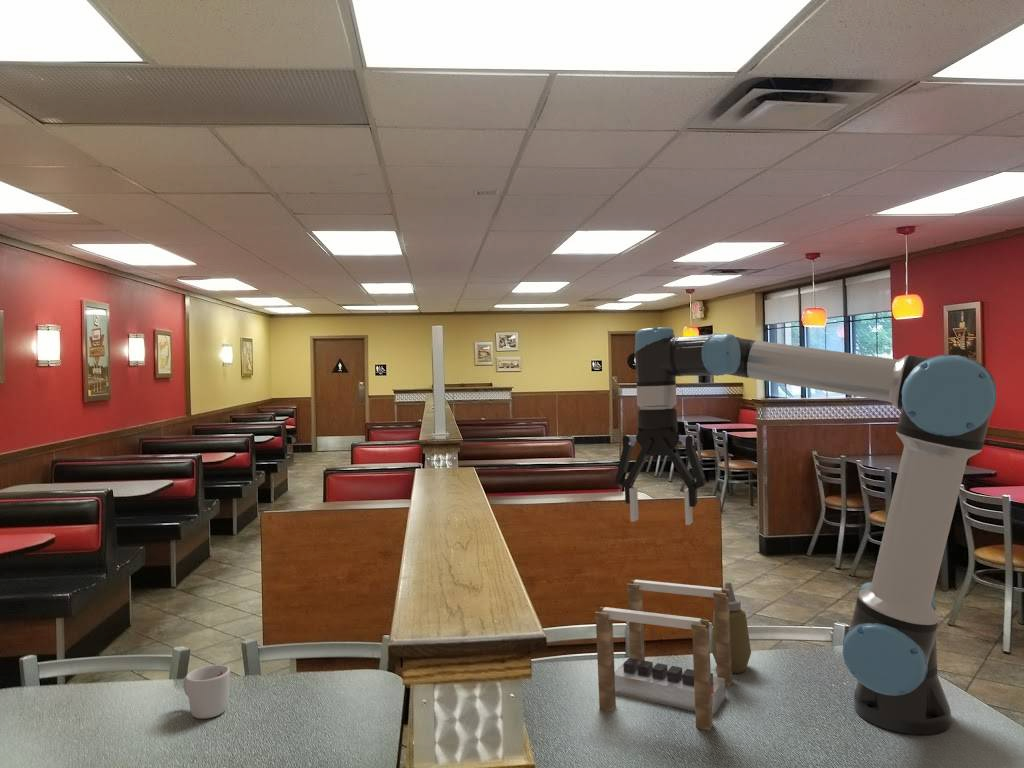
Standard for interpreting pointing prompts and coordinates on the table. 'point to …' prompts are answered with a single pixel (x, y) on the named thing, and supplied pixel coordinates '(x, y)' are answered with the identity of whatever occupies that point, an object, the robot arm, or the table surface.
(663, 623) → the long white bar
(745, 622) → the squeeze bottle
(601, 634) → the posts
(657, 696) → the breaker strip
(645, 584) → the white crossbar
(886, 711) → the robot arm
